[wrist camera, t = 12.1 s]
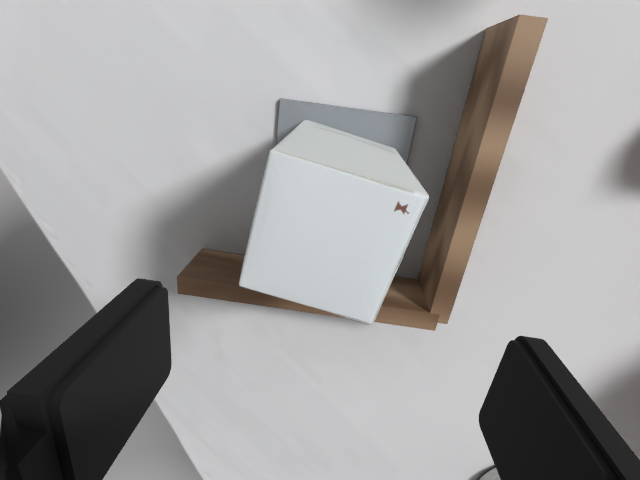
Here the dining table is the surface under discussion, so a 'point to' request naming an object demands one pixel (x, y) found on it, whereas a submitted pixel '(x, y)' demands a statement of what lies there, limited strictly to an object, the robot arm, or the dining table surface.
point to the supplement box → (331, 221)
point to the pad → (349, 123)
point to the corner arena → (455, 201)
